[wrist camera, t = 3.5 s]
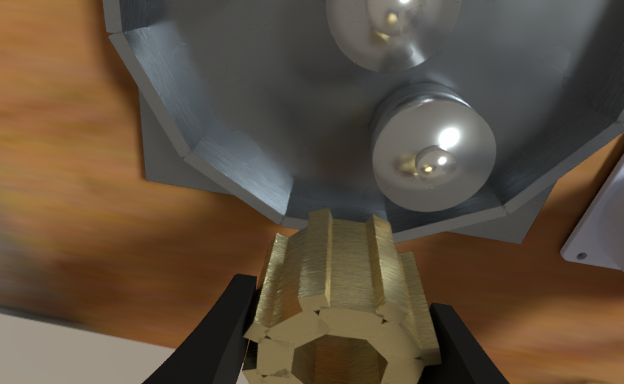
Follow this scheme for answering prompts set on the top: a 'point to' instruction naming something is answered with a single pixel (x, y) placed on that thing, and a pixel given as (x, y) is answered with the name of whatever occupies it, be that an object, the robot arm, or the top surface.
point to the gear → (339, 309)
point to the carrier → (375, 104)
